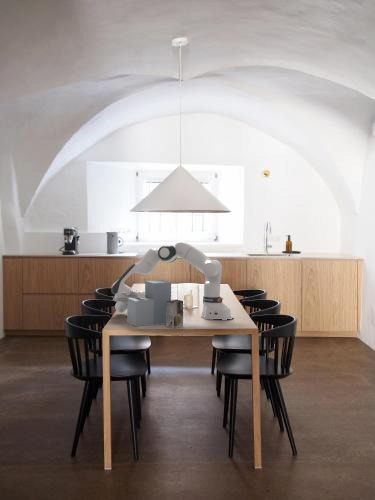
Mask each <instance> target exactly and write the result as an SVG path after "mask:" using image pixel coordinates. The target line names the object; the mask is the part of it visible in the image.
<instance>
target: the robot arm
mask: <svg viewBox="0 0 375 500" xmlns="http://www.w3.org/2000/svg"><path fill="white" fill-rule="evenodd" d="M177 257H179V258H181V259H182V260H184V261H185V262H187V263H189V264H190V265H191V266H193V267H195V268H196V269H197V270H198V271H199V272H200V273H201V274H203V275H204V276H205V278H204V283H203V284H204V285H203V297H202V305H203V306H202V310H201V314H200V317H201V318H203V319H205V320H213V319H222V320H221V321H228V320H227V319H231V318H233V317H234V318H235V316H234V315H232V313H231V308H230V307H228V306H227V305H226V304H225V303H224V302H223V300H224V297H221V281H222V273H223V272H222V271H223V266H222V263H221V261H219V260H218V259H211V258H210V257H209V256H207V255H206V254H205V253H204V252H202V251H201V250H200V249H198V248H196V247H195V246H193V245H192V244H189V243H187V242H184V241H182V240H180V241H177V242H176V243H175V245H170V244H169V245H167V244H165V245H162V246H160V247H159V249H158V248H155V247H154V248H153V247H152V248H149V249H148V250H147V252H145V254H144V255H143V257H142V258H141V259H140V260H139V261H138V262H135V263H133V264H132V265H130V266H129V267H128V268H127V269H126V270H125V272H123V274H122V275H121V276H120V277H119V278H118V279H117V280H116V281H115V282H114V283H112V285H111V288H110V291H111V294H113V295H114V297H113V298H112V301H113V302H116V303H115V305H114V308H115V310H116V312H118V313H121V314H122V313H125V311H127V302H128V298H137V296H134V295H131V294H132V291H129V290H135V289H133V287H130V286H128V284H126V283H125V281H126V280H127V279H128V278H129V277H130V276H131V275H133V274H140V275H150V274H152V272H153V271H154V270H155V268H156V266H157V265H158V263H159V262H165V263H168V264H169V263H173V262H175V261H176V260H177ZM234 318H233V319H234ZM231 320H232V319H231Z"/></svg>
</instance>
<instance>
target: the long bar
mask: <svg viewBox="0 0 375 500" xmlns="http://www.w3.org/2000/svg"><path fill="white" fill-rule="evenodd" d="M129 291H132V294H131V295H134V296H137V297H139V298H145V290H142V291H138V290H135V289H134V290H129Z"/></svg>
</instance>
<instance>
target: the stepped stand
mask: <svg viewBox="0 0 375 500" xmlns="http://www.w3.org/2000/svg"><path fill="white" fill-rule="evenodd" d="M144 287H145V288H144V292H145V298H139V297H137V298H128V302H127V310H126V311H127V312H126V313H127V315H126V317H127V318H126V320H127V321H126V322H127V323H128V324H130V325H132V326H134V327H141V326H142V327H143V326H144V327H145V326H154V325H166V315H167V301H170V300H172V282H170V281H167V280H160V279H159V280H145V281H144Z"/></svg>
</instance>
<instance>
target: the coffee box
mask: <svg viewBox="0 0 375 500" xmlns="http://www.w3.org/2000/svg"><path fill="white" fill-rule="evenodd" d="M165 325H166V326H165V327H166V328H170V329H177V328H180V327H181V328H182V327H183V326H184V300H181V299H171V300H170V301H167V315H166V324H165Z"/></svg>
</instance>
